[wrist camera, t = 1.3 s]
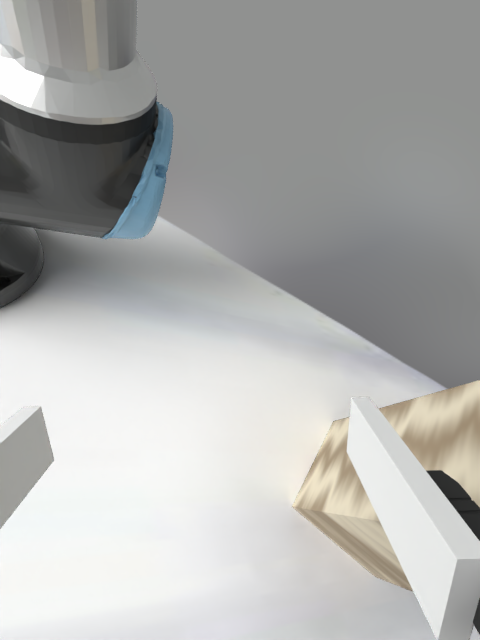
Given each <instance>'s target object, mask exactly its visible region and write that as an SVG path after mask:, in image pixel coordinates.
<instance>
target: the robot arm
mask: <svg viewBox="0 0 480 640" xmlns="http://www.w3.org/2000/svg"><path fill="white" fill-rule="evenodd" d="M136 35H137V0H0V307H2V306H4V305H6V304H8V303H10V302H12V301H14V300H15V299H17V298H19V297H20V296H21V295H23V294H24V293H25V292H26V291H27V290H28V289H29V288H30V287H31V286H32V285H33V284H34V283H35V281H36V280H37V278H38V277H39V275H40V273H41V270H42V267H43V261H44V254H43V249H42V246H41V243H40V240H39V238H38V235H37V233H36V231H35V229H34V228H38V229H45V230H52V231H59V232H66V233H73V234H79V235H86V236H93V237H100V238H103V239H109V238H123V239H140V238H142V237H144V236H146V235H147V234H148V233H149V232H150V231H151V229H152V228H153V226H154V224H155V221H156V219H157V216H158V212H159V209H160V205H161V201H162V197H163V193H164V188H165V183H166V172H167V170H168V164H169V161H170V155H171V147H172V139H173V118H172V114H171V112H170V111H169V109H167V108H165V107H163V105H162V104H159V102H156V100H157V83H156V79H155V77H154V75H153V73H152V71H151V70H150V68H149V67H148V65H147V64H146V63H145V61H144V60H143V58H142V57H141V55H140V54H139V53H138V51H137V50H136ZM347 454H348V456H349V458H350V460H351V462H352V464H353V466H354V468H355V470H356V472H357V475H358V477H359V479H360V481H361V483H362V485H363V487H364V489H365V491H366V493H367V495H368V498H369V500H370V502H371V504H372V506H373V508H374V510H375V512H376V514H377V516H378V518H379V521H380V523H381V525H382V527H383V529H384V531H385V533H386V535H387V537H388V539H389V542H390V544H391V546H392V548H393V550H394V552H395V554H396V556H397V558H398V560H399V562H400V565H401V567H402V569H403V571H404V573H405V575H406V577H407V579H408V581H409V583H410V585H411V588H412V590H413V592H414V594H415V596H416V598H417V600H418V602H419V604H420V606H421V608H422V611H423V613H424V615H425V617H426V619H427V621H428V623H429V625H430V627H431V629H432V631H433V634H434V636H435V638H436V640H470V636H471V633H472V629H473V626H475V627H476V629H477V631H478V632H479V634H480V507H479V506H478V505H477V504H476V503H475V502H474V500H473V501H472V500H471V497H470V496H469V495H468V493H467V492H466V491H465V490H464V489H463V488H462V486H461V485H460V484H459V483H458V482H457V481H455V480H454V479H453V478H451V477H450V476H449V475H447V474H446V473H444V472H443V471H442V470H429V471H426V470H425V469H424V468H423V466H422V465H421V464H420V462H419V461H418V460H417V459H416V457H415V456H414V455H413V453H412V452H411V451H410V449H409V448H408V447H407V445H406V444H405V443H404V441H403V440H402V439H401V438H400V436H399V435H398V434H397V432H396V431H395V430H394V428H393V427H392V426H391V424H390V423H389V422H388V421H387V419H386V418H385V417H384V415H383V414H382V413H381V411H380V410H379V409H378V407H377V406H376V405H375V404H374V402H373V401H372V400H371V398H370V397H351V404H350V416H349V428H348V440H347ZM53 461H54V457H53V453H52V449H51V445H50V441H49V437H48V433H47V429H46V425H45V421H44V417H43V413H42V409H41V406H36V407H22V408H21V409H20V410H19V411H17V412H16V413H15V414H14V415H13V416H11V417H10V418H9V419H8V420H7V421H6V422H4V423H3V424H2V425H1V426H0V529H1V527H2V526H3V525H4V524H5V522H6V521H7V520H8V518H9V517H10V516H11V515H12V513H13V512H14V511H15V509H16V508H17V507H18V506H19V504H20V503H21V502H22V501H23V499H24V498H25V497H26V495H27V494H28V493H29V492H30V490H31V489H32V488H33V486H34V485H35V484H36V483H37V481H38V480H39V479H40V478H41V476H42V475H43V474H44V472H45V471H46V470H47V469H48V467H49V466H50V465H51V463H52V462H53Z"/></svg>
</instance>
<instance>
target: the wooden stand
mask: <svg viewBox="0 0 480 640" xmlns="http://www.w3.org/2000/svg"><path fill="white" fill-rule="evenodd" d="M379 410H380V411H381V413H382V414H383V415H384V417H385V418H386V419H387V421H388V422H389V423H390V424H391V426H392V427H393V428H394V430H395V431H396V432H397V434H398V435H399V436H400V438H401V439H402V440H403V441H404V443H405V444H406V445H407V447H408V448H409V449H410V451H411V452H412V453H413V455H414V456H415V457H416V459H417V460H418V461H419V462H420V464H421V465H422V466H423V468H424V469H425V470H426V471H429V470H442V471H443V472H444V473H446V474H447V475H449V476H450V477H451V478H453V479H454V480H455V481H457V482H458V483H459V484H460V485H461V486H462V488H463V489H464V490H465V491H466V492H467V493H468V495H469V496H470V497H471V500H472V501H473V500H474V502H475V503H476V504H477V505H478V506H479V507H480V380H478V381H475V382H472V383H468V384H464V385H461V386H457V387H454V388H450V389H446V390H443V391H439V392H436V393H432V394H429V395H425V396H422V397H418V398H415V399H411V400H408V401H404V402H400V403H397V404H393V405H390V406H386V407H383V408H379ZM348 428H349V417H347V418H344V419H340V420H337V421H333V423H332V425H331V427H330V429H329V431H328V434H327V436H326V438H325V440H324V442H323V444H322V446H321V448H320V450H319V452H318V454H317V456H316V458H315V460H314V462H313V464H312V466H311V469H310V471H309V473H308V475H307V477H306V479H305V481H304V483H303V485H302V487H301V489H300V491H299V493H298V495H297V497H296V499H295V502H294V504H293V506H292V507H293V508H294V509H295V510H296V511H298V512H299V513H300V514H301V515H302V516H304V517H305V518H306V519H307V520H308V521H310V522H311V523H312V524H313V525H314V526H315V527H317V528H318V529H319V530H320V531H321V532H323V533H324V534H325V535H326V536H327V537H328V538H330V539H331V540H332V541H333V542H334V543H336V544H337V545H338V546H339V547H340V548H342V549H343V550H344V551H345V552H346V553H347V554H349V555H350V556H351V557H352V558H353V559H355V560H356V561H357V562H358V563H359V564H360V565H362V566H363V567H364V568H365V569H366V570H368V571H369V572H370V573H371V574H372V575H374V576H375V577H377V578H380V579H382V580H385V581H387V582H390V583H392V584H395V585H397V586H400V587H402V588H405V589H408V590H410V591H413V590H412V588H411V585H410V583H409V581H408V579H407V577H406V575H405V573H404V571H403V569H402V567H401V565H400V562H399V560H398V558H397V556H396V554H395V552H394V550H393V548H392V546H391V544H390V542H389V539H388V537H387V535H386V533H385V531H384V529H383V527H382V525H381V523H380V521H379V518H378V516H377V514H376V512H375V510H374V508H373V506H372V504H371V502H370V500H369V498H368V495H367V493H366V491H365V489H364V487H363V485H362V483H361V481H360V479H359V477H358V475H357V472H356V470H355V468H354V466H353V464H352V462H351V460H350V458H349V456H348V454H347V440H348Z"/></svg>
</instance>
